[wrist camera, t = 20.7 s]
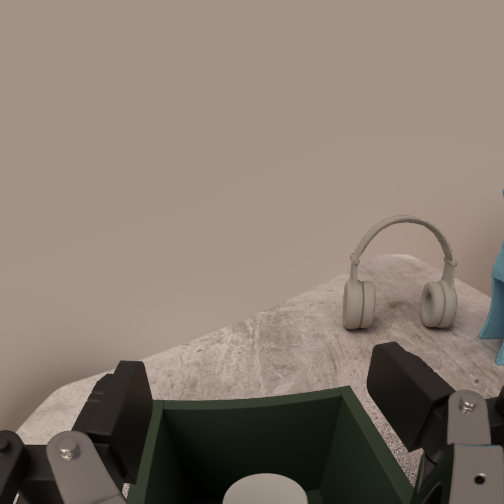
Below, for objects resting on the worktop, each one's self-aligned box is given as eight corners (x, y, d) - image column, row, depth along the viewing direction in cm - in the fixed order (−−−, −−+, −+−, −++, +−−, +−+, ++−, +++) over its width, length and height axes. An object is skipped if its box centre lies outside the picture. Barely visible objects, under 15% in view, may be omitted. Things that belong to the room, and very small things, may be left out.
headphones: (437, 316, 48) (449, 216, 44) (452, 335, 40) (470, 222, 36) (340, 316, 52) (346, 211, 48) (343, 337, 44) (352, 215, 40)
